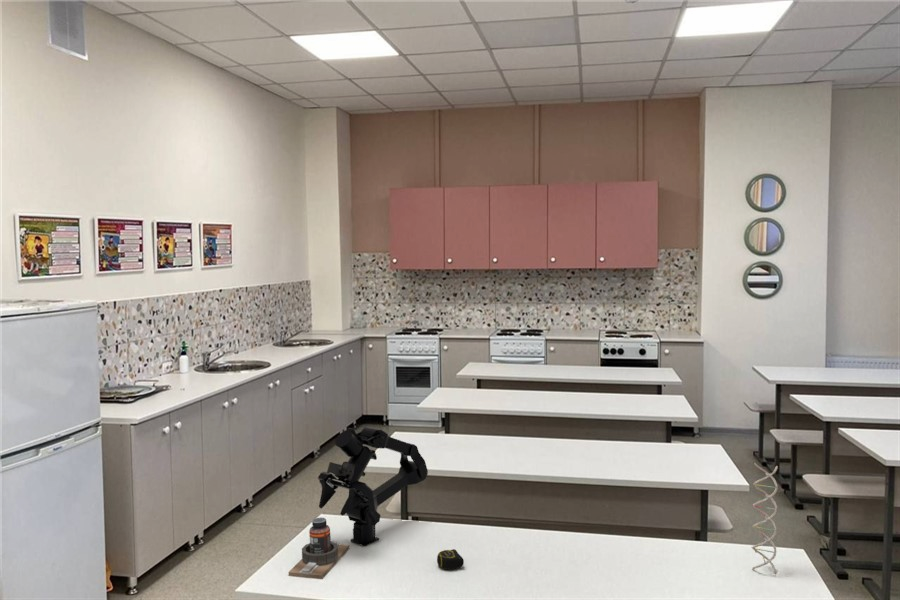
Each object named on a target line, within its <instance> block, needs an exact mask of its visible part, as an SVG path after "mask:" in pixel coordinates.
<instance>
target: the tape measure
mask: <svg viewBox="0 0 900 600" xmlns="http://www.w3.org/2000/svg"><path fill="white" fill-rule="evenodd" d="M436 558H437V559H436V562H437V563H436V564H437V565H438V566H439V567H440V568H442V569H444V570H455V569H457V568H461V567H463V566H464V563H465V561H464V558H463V557H462V555H461V554H459V553H458V550H456V549H444V550H441V551H439V552H438V553H437V557H436Z"/></svg>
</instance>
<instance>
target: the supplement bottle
mask: <svg viewBox="0 0 900 600" xmlns="http://www.w3.org/2000/svg"><path fill="white" fill-rule="evenodd" d="M311 522H312V523H311V524H312V526H311V527H310V529H309V531H308V532H309V543H310V554H323V553H327V552H330V551H331V541H332V540H331V539H332V538H331V527H330V526H329V525H327V519H326V518H325V517H316V518H313V519H312V521H311Z"/></svg>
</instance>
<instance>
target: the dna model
mask: <svg viewBox="0 0 900 600" xmlns="http://www.w3.org/2000/svg"><path fill="white" fill-rule="evenodd" d="M753 464H754V466H755V467H757V468H758V469H759V470H760V471H762V472H763V473H765V476H764V477H762V478H760V479H758V480H755V481H754V482H753V484H752V486H754V487H755V489H756V490H757V491H760V492H761V493H763V494H764V496H765V497H764V499H760V500H757V501H756V502H754V503H752V506H753V508H754V509H755V510H757V512H759V513H761V514H762V515H763V516H764V518H765V519H764V520H762V521H757V522H756V523H754V524H753V525H751V527H752V528H753V530H755V531H756V532H758V533H759V534H760V535H761V536H762V538H764V540H765V541H762V542H760V543H757V544H755V545H753V546H751V548H752V550H753V551H754V552H755V553H756V554H759V555H760V556H762V559H763V561H764V562H763V563H761V564H758V565H756V566H753V567H752V568H751V569H752V570H753V571H754V570H755V569H758V568H761V567H763V566H766V565H768V564H770V567H771V568H772V569H773V574H776V570H777V569H776V568H775V565H774V563H773V562H772V561H773V560H774V559H775V558H776V556H777V546H776V544H775V543H774V542H773V539H774V538H775V537H776V535H777V532H778V530H777V526H776V523H775V521H774V520H773V519H772V518H774V517H775V516H776V514H777V510H779V508H778V506H777V502H776V501H775V499H774V498H773V497H774V496H775V495H776V494H777V491H778V488H779V486H778V484H777V481H776V479H775V477H774V476H773V475H775V474H776V472H777V470H778V468H779V467H778V465H776V466H775V468H774V469H773V471H772V472H770V473H769V472H768V471H767V470H765V469H764V467H763V468H762V467H761V466H760V465H758V464H757V463H756V462H754V463H753ZM768 478H770V479H771V480H772V482H773V483H774V486H769V485H764V484H758V483H760V482H763V481H764V480H766V479H768ZM761 487H766V488H772V489H774V491H773V492H772V493H771V494H768V493H767V492H766V491H765V490H764V489H762V488H761ZM767 500H771V502H772V505H773V507H774V508H773V507H768V506H767V507H766V509H769V510H774V512H773V513H772V514H771V515H770V516H769V514H767V513H766V512H765V511H763V510H761V509H760V508H762V509H763V508H764V506H760V505H759V504H761V503H763V502H765V501H767ZM768 521H770V522H771V523H772V526H773V529H771V528H766V527H764V530H768V531H774V532H773V534H772V536H770V537H769V536H768V535H766V534H765V533H764V532H763V531H761V530H763V527H759V526H760V525H762V524H764V523H767V522H768ZM759 529H760V530H759ZM769 542H770V543H769ZM768 543H769V544H770V545H772V548H773V551H771V550H765V549H761V548H758V547H761V546H762V545H765V544H768ZM760 551H761V552H760ZM762 551H763V552H766V553H767V552H768V553H772V556H771V557H770V558H768V556H766V555H765V554H763V553H762ZM765 559H766V560H765Z"/></svg>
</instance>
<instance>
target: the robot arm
mask: <svg viewBox="0 0 900 600" xmlns="http://www.w3.org/2000/svg"><path fill="white" fill-rule="evenodd" d="M334 443H335V446H336V447H337V448H338V449H339V450H340V451H341V452H343V454H345V456H346V457H349V459H348V461H343V462H342V464H339V463H335V462H330V461H329V464H328V467H327V469H326V471H322V472H319V473H320V474H319V475H318V477H317V480H318V482H319V484H320V485H321V495H320V498H319V502H318V503H319V505H318V507H319V509H320V510H321V509H323V508H324V507H325V506H326V505H327V503H328V502H329V501H330V500H331V499H332V498H333V496H334V495H335V494H336V492H337V491H336V490H338V488H343V489H346V490H348V496H347V499H346V501H344V502H345V503H344V505H343V507H342V508H341V511H340V513H339V514H340V515H341V516H345V515H347V516H348V519H349V521H352V522H353V529H352V538H351V539H350V542H351V543H354V544H357V545H360V546H363V547H366V546H369V545H371V544H373V543H375V542H377V541H379V540H380V537H377V536H376V525H377V524H379V522H380V520H381V514H380V513H379V512H378V511H377V510H378V509H379V508H378V507H379V506H380V505H382V504H384V503H385V502H386V501H387V500H389V499H390V498H392V497H393V496H394V495H395V494H397V493H399V492H400V491H401V490H403V489H404V488H406V487H407V486H411V485H417V484H419V483H422V482H424V481H425V480H426V479H427V476H428V473H429V472H428V470H429V469H428V467H427V464H426V460H425V459H424V457H423V456H422V454H421V453H420V451H419V448H418V446H417V445H416V444H413V443H410V442H406V441H403V440H400V439H396V438H394V437H392V436H390V435H389V434H388V433H387V432H385V430H383V429H380V428H374V427H370V426H365V427H364V428H363V429H362V430H361V431H358V432H356V431H355V430H354V428H352V427H347V429H346V430H345V431H343V432H341V433H339V434H338V435H337V436H336V438H335V442H334ZM369 447H371V448H373V449H387V450H390V451H393V452H396V453H399V454H400V459H399V465H400V467H399V470H398V473H397V474H395V475H394V476H392V477H391V478H389V479H387V480H386V481H385V482H383V483H382V484H380V485H379V486H378V487H376V488H374V489H372V488H371V487H370V486H369V485H368V484H367V483H365V482H363V481H360V479H361V477H365V476H366V472H365V470H366V469H367V467H368V465H369V463H370V461H371V460H375V461H376V460H377V457H378V456H377V454H376V450H373V449H371V448H369ZM408 457H410V458H411V460H409V458H408Z"/></svg>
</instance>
